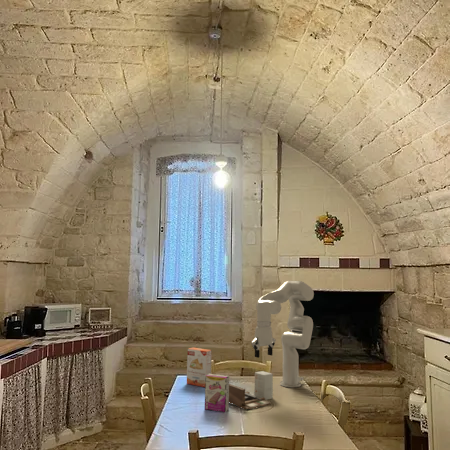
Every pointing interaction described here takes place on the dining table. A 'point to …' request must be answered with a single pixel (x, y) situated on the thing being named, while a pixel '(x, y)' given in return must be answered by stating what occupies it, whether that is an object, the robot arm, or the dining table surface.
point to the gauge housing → (239, 398)
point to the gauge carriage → (250, 397)
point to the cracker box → (198, 366)
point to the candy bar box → (217, 392)
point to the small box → (264, 385)
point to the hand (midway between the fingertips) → (263, 356)
